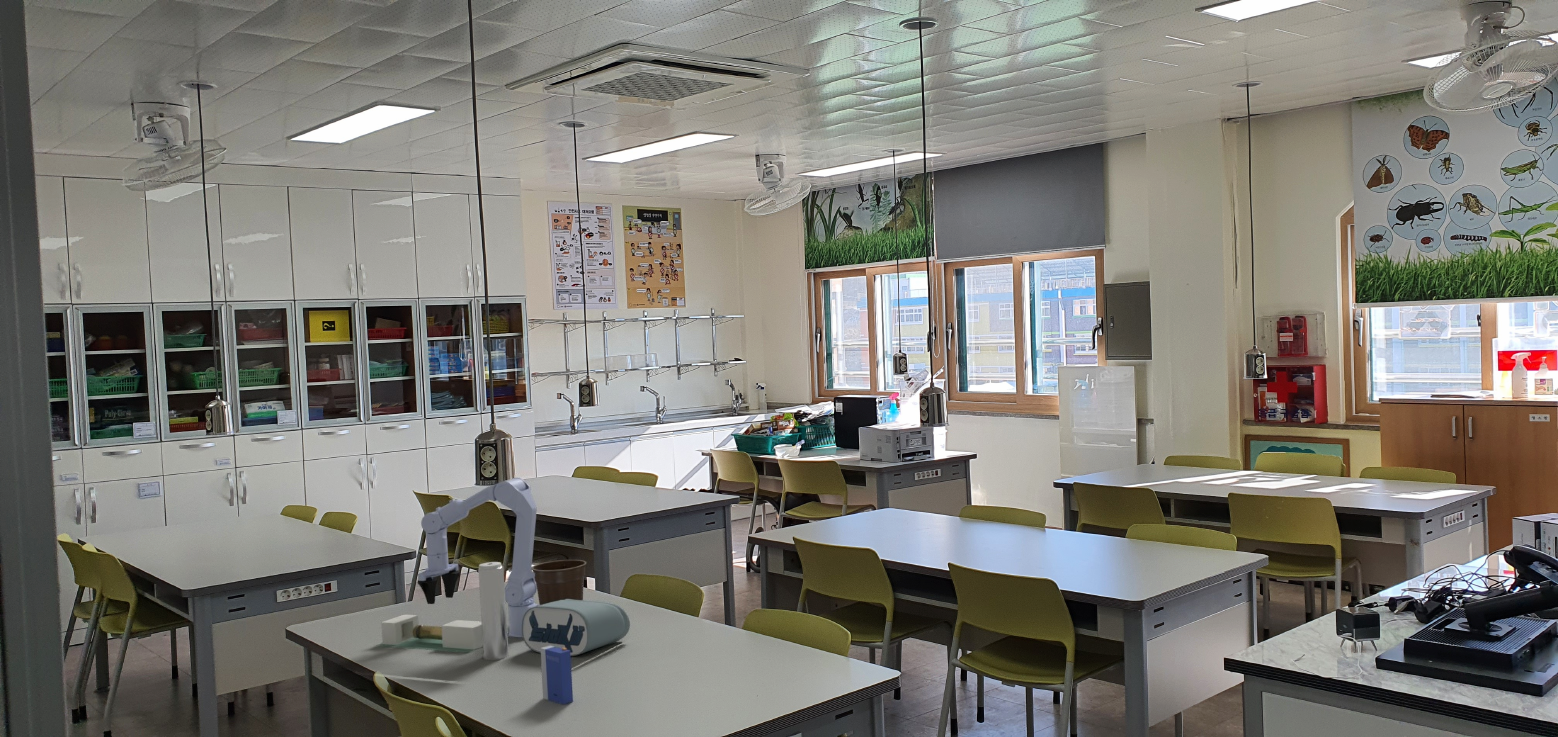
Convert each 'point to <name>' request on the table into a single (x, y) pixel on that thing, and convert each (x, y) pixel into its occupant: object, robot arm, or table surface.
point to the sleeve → (462, 634)
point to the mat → (427, 645)
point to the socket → (399, 629)
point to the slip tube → (427, 632)
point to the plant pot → (559, 580)
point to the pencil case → (574, 625)
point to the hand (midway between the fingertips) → (440, 600)
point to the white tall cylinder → (493, 610)
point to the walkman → (556, 674)
